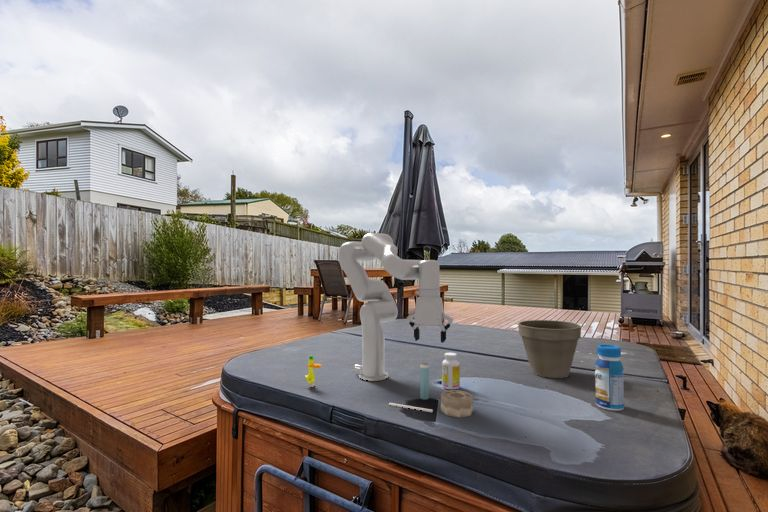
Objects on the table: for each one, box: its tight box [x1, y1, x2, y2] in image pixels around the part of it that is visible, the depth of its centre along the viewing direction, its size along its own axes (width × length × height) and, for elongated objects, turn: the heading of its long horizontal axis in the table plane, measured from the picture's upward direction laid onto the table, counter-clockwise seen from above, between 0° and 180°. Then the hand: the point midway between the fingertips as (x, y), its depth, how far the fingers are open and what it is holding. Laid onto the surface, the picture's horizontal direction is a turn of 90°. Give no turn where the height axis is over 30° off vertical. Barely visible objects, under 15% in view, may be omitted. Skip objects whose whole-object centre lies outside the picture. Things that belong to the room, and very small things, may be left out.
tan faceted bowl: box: [440, 389, 474, 418], centre depth 119 cm, size 10×10×5 cm
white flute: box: [388, 402, 434, 413], centre depth 121 cm, size 15×1×1 cm, turn 67°
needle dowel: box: [419, 362, 430, 400], centre depth 131 cm, size 3×3×12 cm
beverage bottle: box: [594, 344, 625, 412], centre depth 123 cm, size 8×8×20 cm
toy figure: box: [304, 354, 323, 386], centre depth 142 cm, size 7×4×12 cm, turn 81°
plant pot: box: [517, 319, 582, 379], centre depth 161 cm, size 25×25×22 cm
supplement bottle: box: [441, 352, 461, 391], centre depth 142 cm, size 7×7×13 cm
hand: (429, 340), depth 134 cm, fingers open, 9 cm apart
